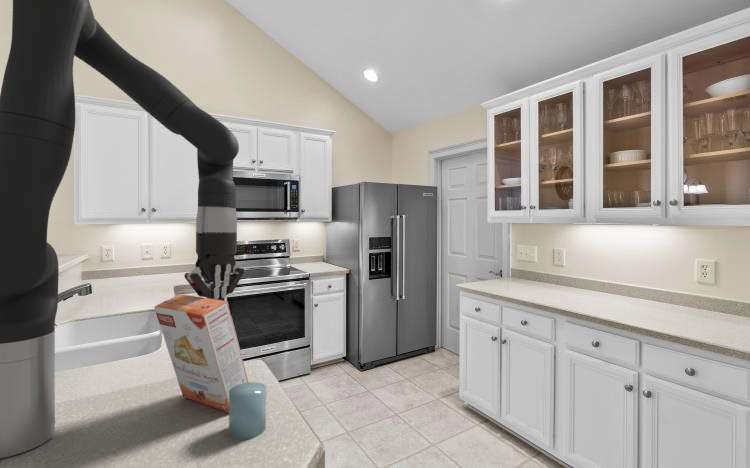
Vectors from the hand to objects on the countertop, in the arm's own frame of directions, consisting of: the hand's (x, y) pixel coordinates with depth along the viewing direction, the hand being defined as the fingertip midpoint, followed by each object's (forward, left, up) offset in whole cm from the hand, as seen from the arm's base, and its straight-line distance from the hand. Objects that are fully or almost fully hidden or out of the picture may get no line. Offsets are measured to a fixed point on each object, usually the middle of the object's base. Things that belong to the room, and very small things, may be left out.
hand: (215, 316), depth 73 cm
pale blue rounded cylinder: (-5, -14, -17) cm, 22 cm away
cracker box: (0, 0, -16) cm, 16 cm away
